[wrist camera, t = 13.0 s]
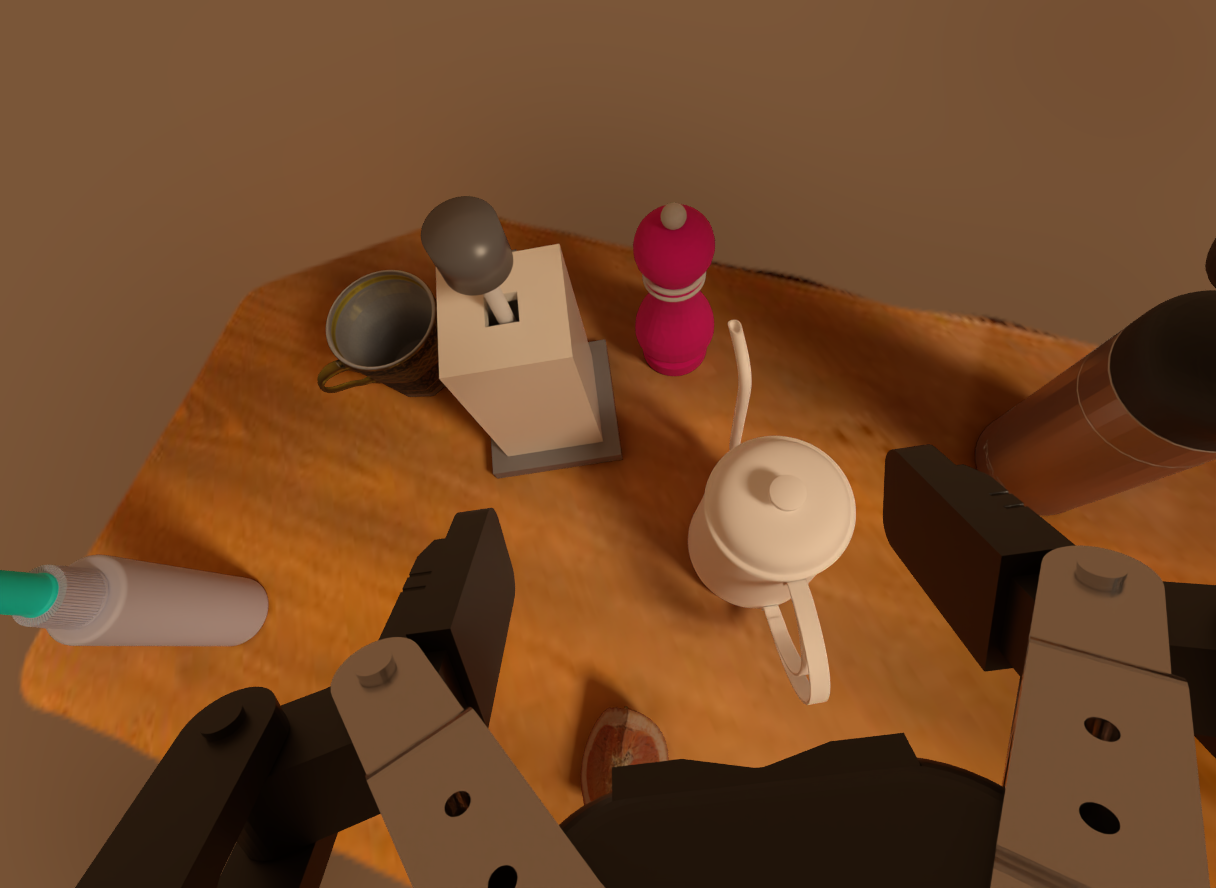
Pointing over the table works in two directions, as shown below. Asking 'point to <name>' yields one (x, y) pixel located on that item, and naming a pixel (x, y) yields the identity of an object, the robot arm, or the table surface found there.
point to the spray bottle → (134, 603)
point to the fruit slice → (618, 748)
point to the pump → (470, 250)
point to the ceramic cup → (385, 334)
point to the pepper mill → (674, 288)
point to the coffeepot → (773, 532)
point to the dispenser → (530, 370)
